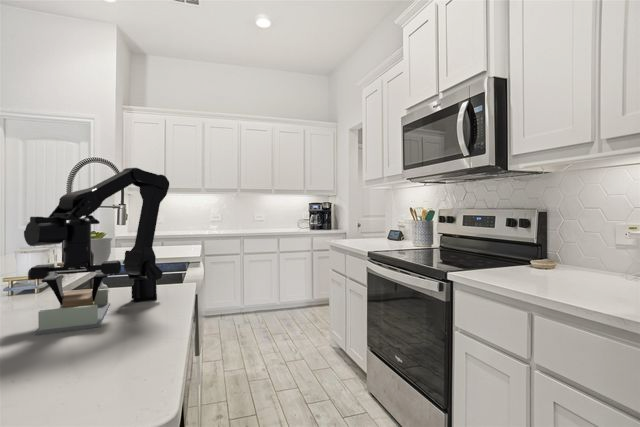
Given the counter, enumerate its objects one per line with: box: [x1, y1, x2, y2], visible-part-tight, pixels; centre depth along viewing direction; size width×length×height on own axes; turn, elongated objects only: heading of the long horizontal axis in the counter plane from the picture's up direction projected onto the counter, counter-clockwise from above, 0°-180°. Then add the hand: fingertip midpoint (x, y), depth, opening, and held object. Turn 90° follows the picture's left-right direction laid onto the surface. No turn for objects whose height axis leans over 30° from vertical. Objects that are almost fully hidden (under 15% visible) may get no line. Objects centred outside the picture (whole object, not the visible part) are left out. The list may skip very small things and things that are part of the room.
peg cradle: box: [34, 288, 111, 336], centre depth 86 cm, size 12×20×5 cm, turn 26°
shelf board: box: [62, 288, 93, 308], centre depth 86 cm, size 14×6×3 cm, turn 36°
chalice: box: [91, 237, 113, 293], centre depth 114 cm, size 7×7×18 cm
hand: (78, 302), depth 86 cm, fingers closed on shelf board, 6 cm apart
